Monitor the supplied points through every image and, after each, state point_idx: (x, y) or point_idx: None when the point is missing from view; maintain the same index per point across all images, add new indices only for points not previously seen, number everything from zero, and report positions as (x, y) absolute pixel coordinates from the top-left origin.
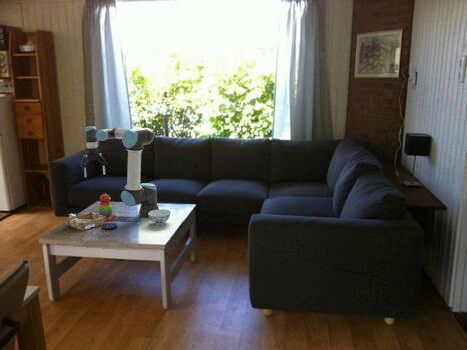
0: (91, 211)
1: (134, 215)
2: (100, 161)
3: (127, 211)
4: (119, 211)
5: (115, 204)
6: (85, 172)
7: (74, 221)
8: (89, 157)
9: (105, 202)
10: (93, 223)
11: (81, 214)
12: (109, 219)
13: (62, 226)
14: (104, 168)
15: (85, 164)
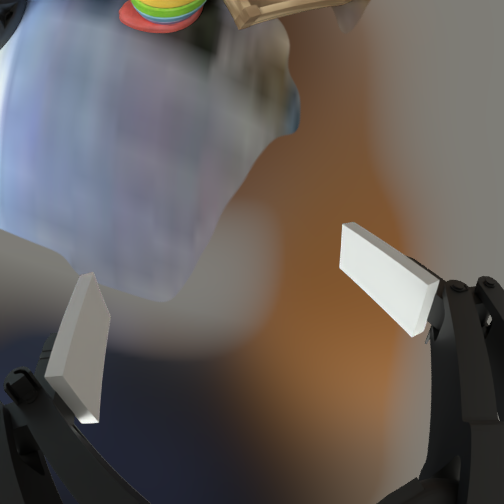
0: (248, 12)
1: (38, 15)
2: (115, 495)
3: (48, 83)
4: (83, 94)
5: (95, 237)
6: (388, 249)
7: None
8: (502, 501)
9: None
10: None
11: (301, 4)
12: None
13: (360, 8)
14: (58, 340)
15: (475, 331)
